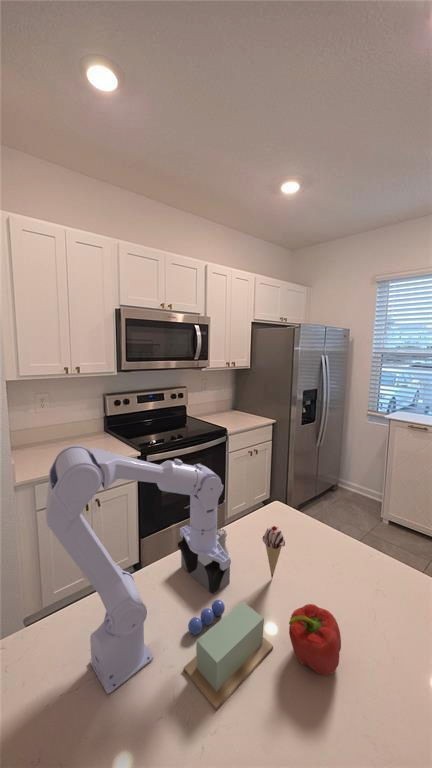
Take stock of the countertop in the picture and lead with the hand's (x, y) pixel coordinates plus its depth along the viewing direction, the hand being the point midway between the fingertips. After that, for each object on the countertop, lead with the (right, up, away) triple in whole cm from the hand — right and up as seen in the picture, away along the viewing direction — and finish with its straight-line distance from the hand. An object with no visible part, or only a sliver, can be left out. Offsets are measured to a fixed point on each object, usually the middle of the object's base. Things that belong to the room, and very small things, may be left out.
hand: (202, 580), depth 70 cm
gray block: (0, -8, +15) cm, 17 cm away
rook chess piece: (+4, -7, +22) cm, 23 cm away
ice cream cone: (+18, -8, +14) cm, 24 cm away
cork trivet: (+6, -11, -7) cm, 14 cm away
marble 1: (-2, -10, -1) cm, 10 cm away
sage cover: (+6, -11, -7) cm, 14 cm away
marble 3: (+3, -10, +3) cm, 11 cm away
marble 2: (+1, -10, +1) cm, 10 cm away
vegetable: (+22, -12, -7) cm, 26 cm away
